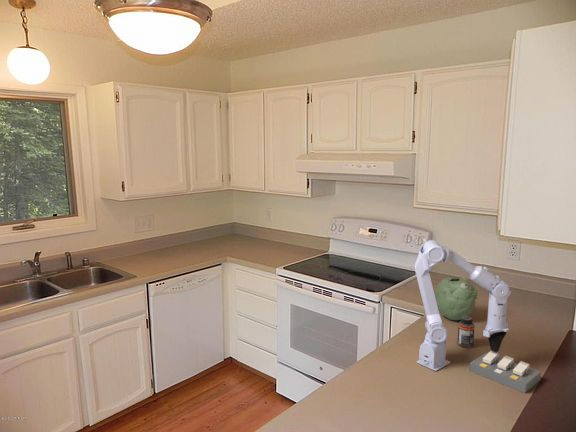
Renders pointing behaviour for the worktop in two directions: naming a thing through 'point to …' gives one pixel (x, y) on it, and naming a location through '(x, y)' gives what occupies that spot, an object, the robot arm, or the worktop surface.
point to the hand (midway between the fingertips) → (494, 350)
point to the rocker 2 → (505, 362)
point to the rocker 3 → (521, 368)
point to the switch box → (505, 374)
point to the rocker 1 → (490, 357)
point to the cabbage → (455, 297)
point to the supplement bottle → (466, 332)
